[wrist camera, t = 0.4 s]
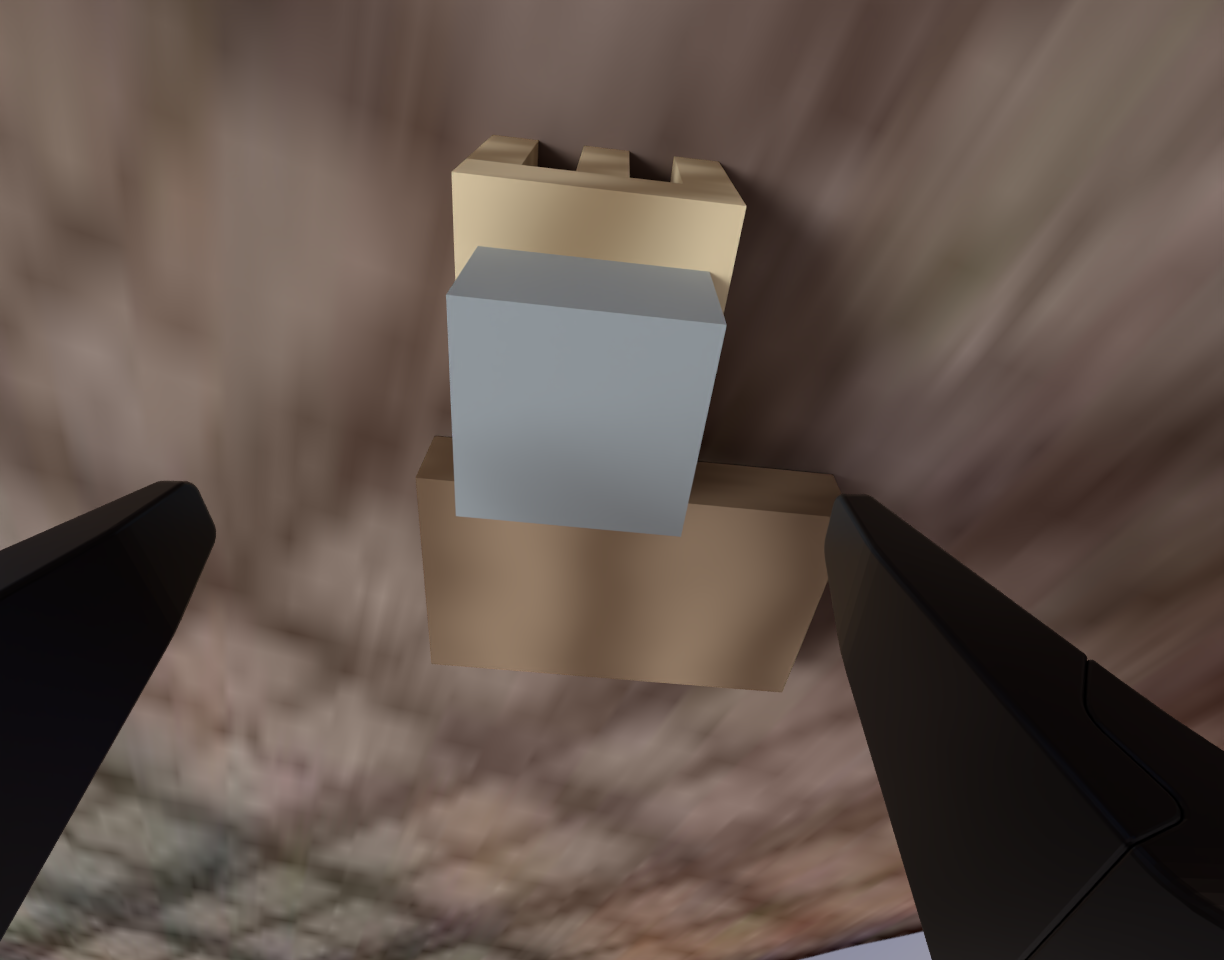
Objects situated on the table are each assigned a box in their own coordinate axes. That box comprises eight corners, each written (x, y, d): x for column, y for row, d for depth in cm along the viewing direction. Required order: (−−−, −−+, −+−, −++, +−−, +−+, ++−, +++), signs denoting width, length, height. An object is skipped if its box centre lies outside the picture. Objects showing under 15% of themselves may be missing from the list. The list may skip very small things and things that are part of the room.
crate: (709, 271, 14) (726, 324, 12) (672, 461, 17) (680, 536, 15) (477, 246, 14) (445, 294, 11) (480, 443, 17) (456, 515, 14)
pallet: (718, 161, 17) (746, 205, 13) (671, 419, 22) (681, 511, 18) (493, 134, 17) (451, 171, 13) (493, 402, 22) (463, 491, 18)
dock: (832, 474, 23) (853, 519, 21) (770, 643, 28) (781, 692, 26) (434, 435, 22) (415, 477, 20) (445, 616, 28) (431, 663, 26)
